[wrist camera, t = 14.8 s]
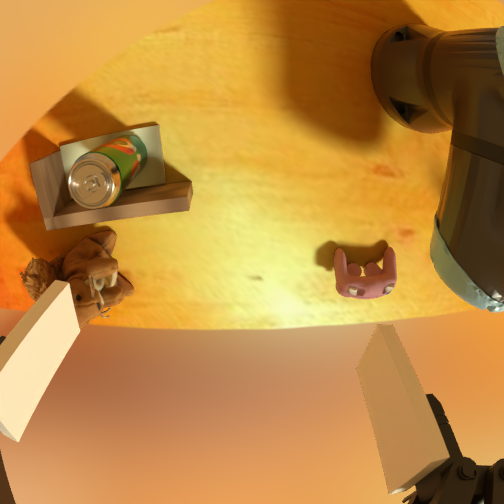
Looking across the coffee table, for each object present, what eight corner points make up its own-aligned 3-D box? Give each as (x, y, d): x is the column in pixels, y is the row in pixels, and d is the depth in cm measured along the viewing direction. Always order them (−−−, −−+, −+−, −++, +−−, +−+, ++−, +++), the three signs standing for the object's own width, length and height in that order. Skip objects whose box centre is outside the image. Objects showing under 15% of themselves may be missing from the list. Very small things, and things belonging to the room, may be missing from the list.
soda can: (102, 144, 31) (55, 169, 21) (140, 127, 31) (103, 144, 21) (117, 181, 34) (79, 221, 23) (154, 166, 34) (127, 201, 23)
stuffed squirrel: (140, 291, 42) (120, 359, 31) (58, 291, 41) (25, 350, 29) (128, 228, 38) (96, 286, 26) (40, 233, 36) (-7, 285, 25)
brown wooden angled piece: (184, 121, 32) (178, 125, 27) (192, 192, 36) (188, 210, 31) (52, 148, 31) (28, 159, 26) (66, 211, 35) (46, 230, 30)
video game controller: (326, 263, 45) (336, 305, 41) (334, 245, 41) (346, 290, 37) (382, 260, 46) (395, 299, 42) (394, 243, 42) (409, 284, 38)
